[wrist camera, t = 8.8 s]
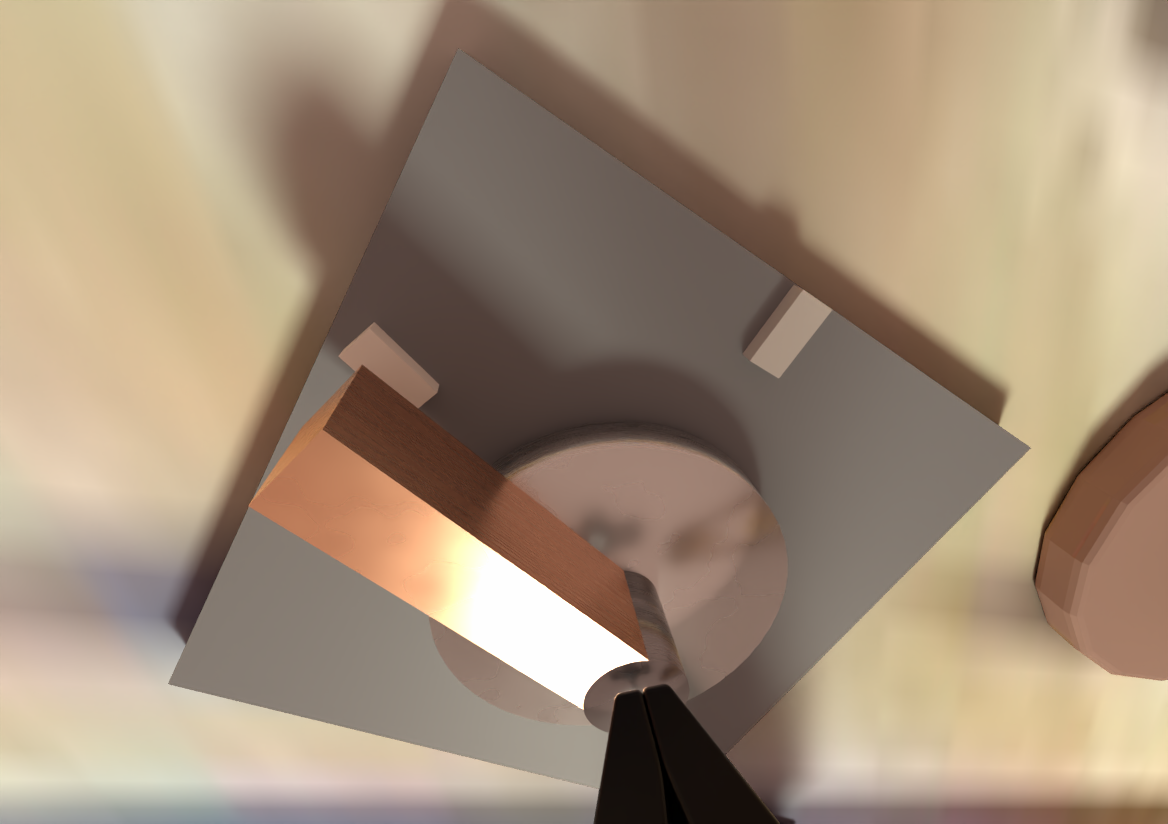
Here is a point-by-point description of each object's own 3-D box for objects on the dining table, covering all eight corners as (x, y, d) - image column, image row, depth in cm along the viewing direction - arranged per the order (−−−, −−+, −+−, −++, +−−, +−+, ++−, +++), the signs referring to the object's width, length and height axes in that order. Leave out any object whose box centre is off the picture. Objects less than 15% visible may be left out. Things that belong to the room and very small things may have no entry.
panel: (998, 429, 22) (1044, 456, 20) (665, 776, 29) (676, 820, 27) (462, 56, 14) (456, 44, 13) (188, 650, 22) (158, 699, 20)
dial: (826, 556, 21) (916, 673, 17) (594, 725, 24) (617, 867, 19) (497, 216, 15) (495, 253, 10) (221, 503, 17) (117, 640, 12)
